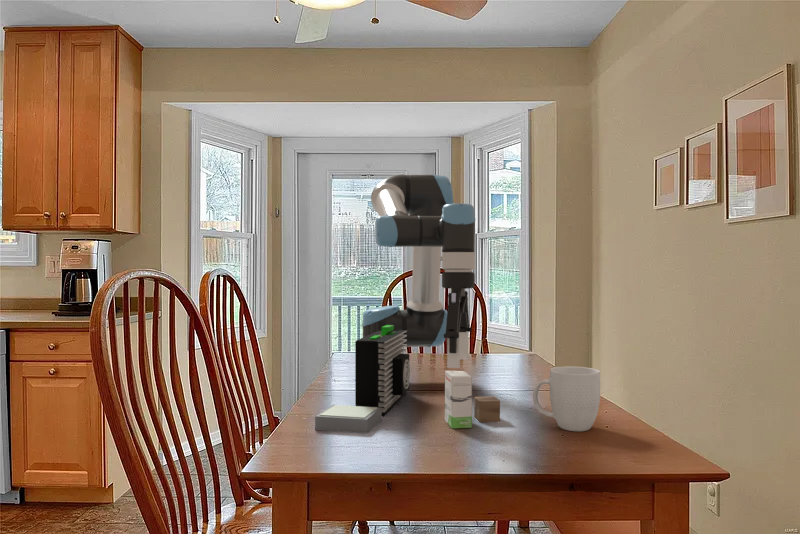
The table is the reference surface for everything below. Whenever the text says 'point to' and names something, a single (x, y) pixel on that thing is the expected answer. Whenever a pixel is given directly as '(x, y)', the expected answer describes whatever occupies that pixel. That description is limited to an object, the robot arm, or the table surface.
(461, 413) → the ink box
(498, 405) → the walnut block
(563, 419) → the mug
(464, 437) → the table surface
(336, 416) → the stand
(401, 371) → the electronic device
